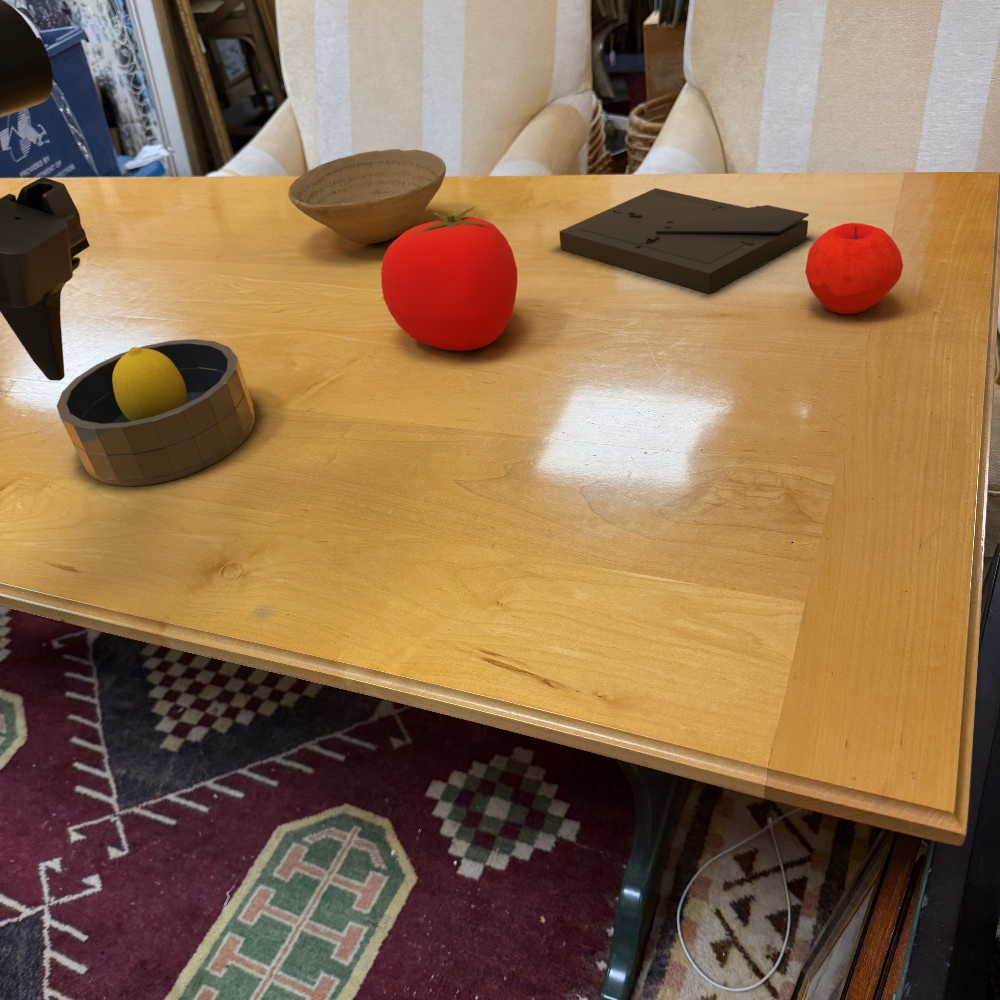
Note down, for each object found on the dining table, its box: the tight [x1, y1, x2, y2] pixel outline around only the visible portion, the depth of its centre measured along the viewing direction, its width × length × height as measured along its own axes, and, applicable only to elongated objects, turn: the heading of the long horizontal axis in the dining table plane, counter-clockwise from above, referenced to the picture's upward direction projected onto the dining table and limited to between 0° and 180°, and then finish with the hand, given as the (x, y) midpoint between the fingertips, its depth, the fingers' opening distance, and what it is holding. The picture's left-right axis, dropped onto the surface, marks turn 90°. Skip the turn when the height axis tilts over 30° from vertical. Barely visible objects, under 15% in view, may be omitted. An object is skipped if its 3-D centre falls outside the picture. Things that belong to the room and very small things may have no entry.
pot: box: [56, 338, 256, 487], centre depth 77 cm, size 15×15×6 cm
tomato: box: [380, 205, 518, 352], centre depth 83 cm, size 12×14×11 cm
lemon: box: [112, 346, 187, 421], centre depth 75 cm, size 6×6×8 cm
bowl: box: [287, 148, 447, 245], centre depth 109 cm, size 18×18×8 cm
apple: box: [804, 222, 904, 315], centre depth 80 cm, size 8×8×7 cm
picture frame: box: [558, 187, 810, 294], centre depth 97 cm, size 16×3×21 cm
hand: (10, 416), depth 56 cm, fingers open, 9 cm apart
